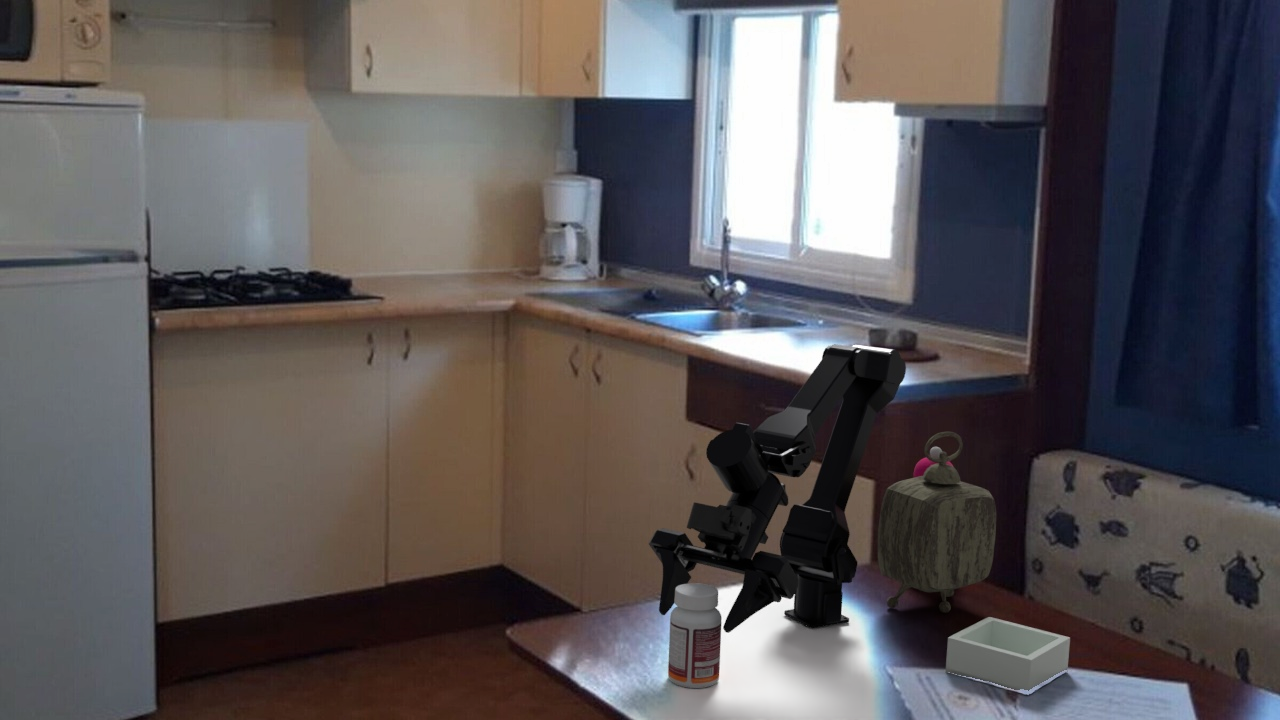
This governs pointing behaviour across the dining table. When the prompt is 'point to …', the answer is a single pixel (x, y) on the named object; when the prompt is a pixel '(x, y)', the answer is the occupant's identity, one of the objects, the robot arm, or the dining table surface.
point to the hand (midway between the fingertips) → (693, 621)
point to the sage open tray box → (1007, 654)
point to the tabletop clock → (936, 530)
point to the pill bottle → (695, 636)
